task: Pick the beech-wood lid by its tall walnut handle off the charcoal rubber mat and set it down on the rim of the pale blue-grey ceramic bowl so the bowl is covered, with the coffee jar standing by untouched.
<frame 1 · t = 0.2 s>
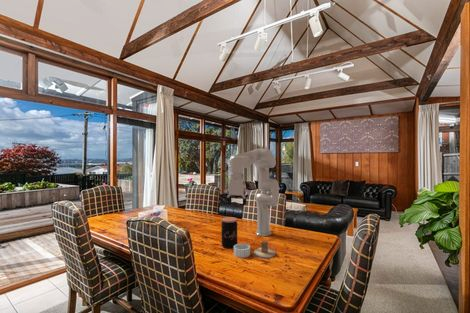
hand: (236, 204, 138), 31 cm above the table, fingers open, 9 cm apart
mat: (264, 254, 139), on the table
lid: (264, 253, 139), point 1 cm above the table, touching mat
bowl: (241, 254, 138), on the table
coffee jar: (229, 246, 153), on the table
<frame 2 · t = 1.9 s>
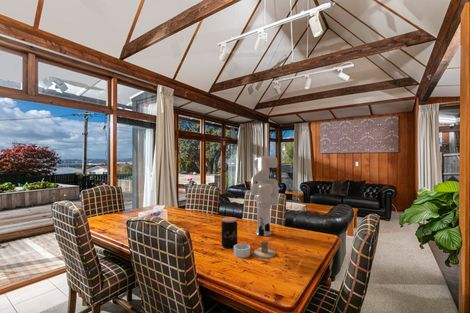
hand: (264, 233, 138), 13 cm above the table, fingers open, 9 cm apart
nothing on the table moved.
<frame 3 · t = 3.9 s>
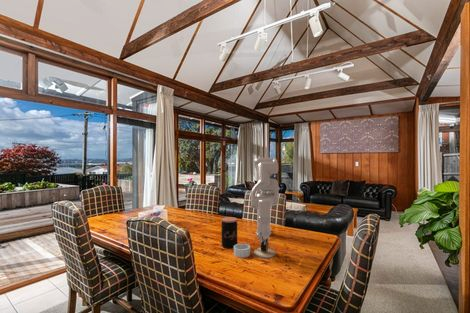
hand: (264, 249, 139), 3 cm above the table, fingers closed on lid, 3 cm apart
lid: (264, 253, 139), point 1 cm above the table, touching gripper, mat
everything else where it was.
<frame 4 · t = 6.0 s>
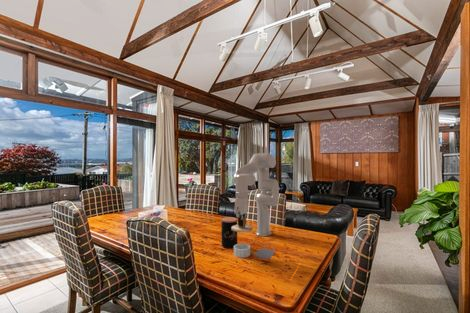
hand: (242, 224, 138), 18 cm above the table, fingers closed on lid, 3 cm apart
lid: (242, 228, 138), point 16 cm above the table, touching gripper
everything else where it was.
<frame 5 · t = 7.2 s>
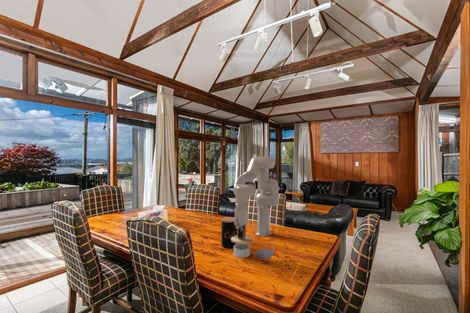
hand: (241, 236, 138), 11 cm above the table, fingers closed on lid, 3 cm apart
lid: (241, 240, 138), point 9 cm above the table, touching gripper
everything else where it was.
when the fingers open (9 cm above the table, at t = 8.3 s): lid drops 2 cm, resting on bowl.
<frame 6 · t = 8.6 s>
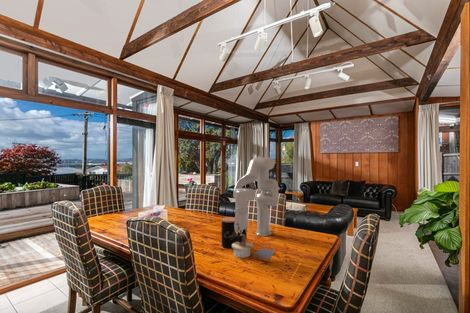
hand: (241, 240, 138), 9 cm above the table, fingers open, 5 cm apart
lid: (242, 246, 138), point 5 cm above the table, touching bowl
everything else where it was.
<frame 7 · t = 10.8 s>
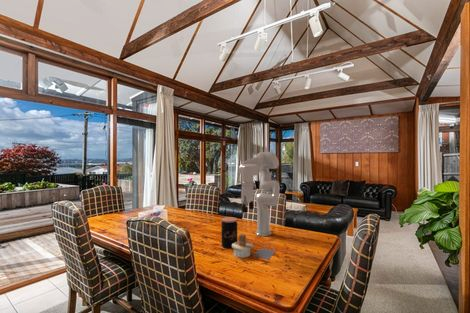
hand: (248, 210, 147), 25 cm above the table, fingers open, 9 cm apart
nothing on the table moved.
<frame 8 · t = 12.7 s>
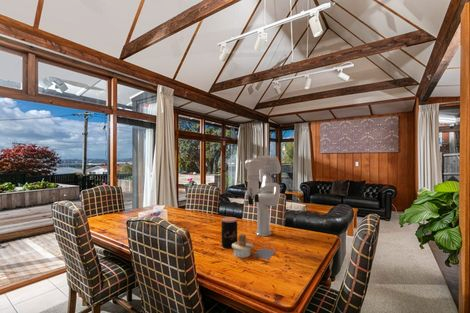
hand: (253, 203, 154), 28 cm above the table, fingers open, 9 cm apart
nothing on the table moved.
at the end: lid 0.4 cm off-centre on the bowl, point 5.0 cm above the bowl's base; lid tilted 0°; the gripper is holding nothing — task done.
